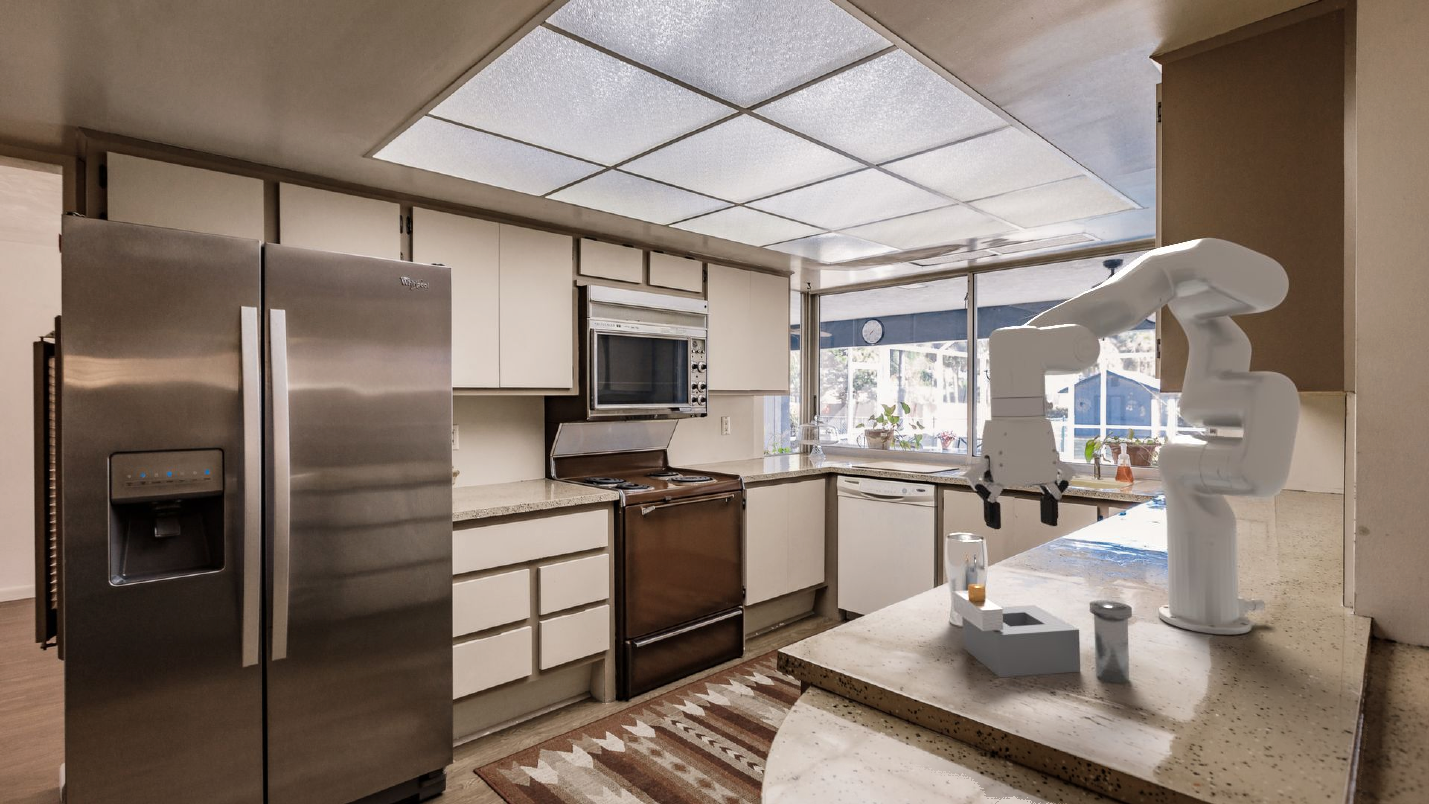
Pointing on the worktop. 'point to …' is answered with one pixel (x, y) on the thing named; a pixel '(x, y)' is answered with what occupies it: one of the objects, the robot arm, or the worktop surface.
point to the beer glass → (964, 565)
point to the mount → (1025, 643)
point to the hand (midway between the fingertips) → (1021, 525)
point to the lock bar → (978, 608)
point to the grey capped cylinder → (1111, 640)
